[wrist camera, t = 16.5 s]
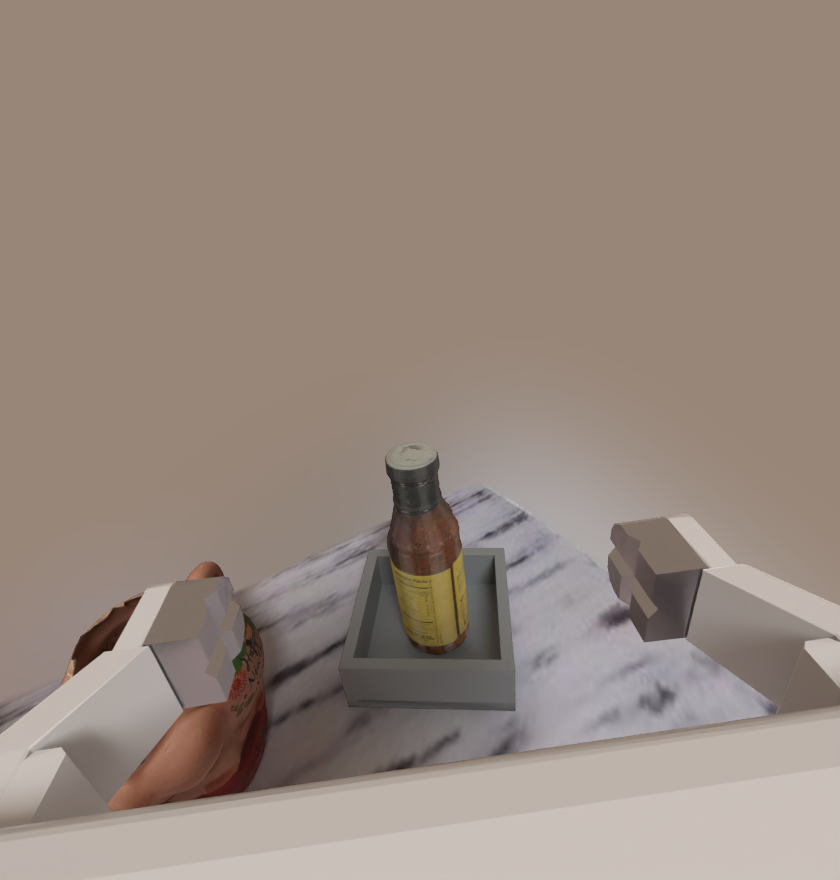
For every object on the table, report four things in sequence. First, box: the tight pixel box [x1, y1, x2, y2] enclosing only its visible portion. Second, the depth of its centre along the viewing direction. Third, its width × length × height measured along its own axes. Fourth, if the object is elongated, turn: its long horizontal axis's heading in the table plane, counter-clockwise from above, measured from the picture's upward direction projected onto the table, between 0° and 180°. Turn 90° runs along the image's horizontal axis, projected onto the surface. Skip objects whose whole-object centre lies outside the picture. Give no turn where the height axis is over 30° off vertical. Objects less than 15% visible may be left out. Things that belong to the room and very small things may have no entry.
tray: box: [339, 548, 515, 711], centre depth 46 cm, size 14×14×5 cm
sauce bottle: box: [385, 442, 469, 655], centre depth 42 cm, size 6×6×20 cm
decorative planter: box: [61, 562, 267, 812], centre depth 37 cm, size 20×12×14 cm, turn 8°
